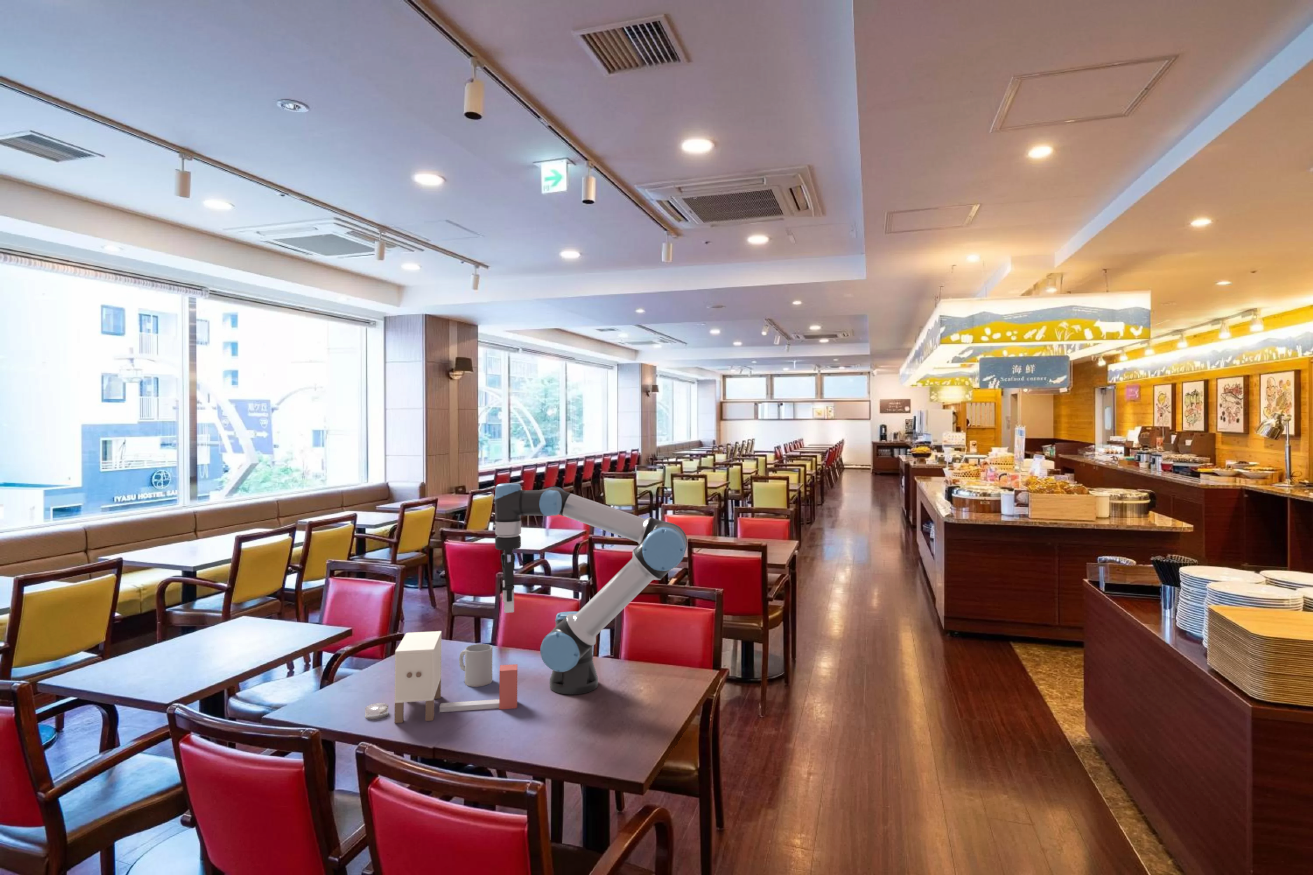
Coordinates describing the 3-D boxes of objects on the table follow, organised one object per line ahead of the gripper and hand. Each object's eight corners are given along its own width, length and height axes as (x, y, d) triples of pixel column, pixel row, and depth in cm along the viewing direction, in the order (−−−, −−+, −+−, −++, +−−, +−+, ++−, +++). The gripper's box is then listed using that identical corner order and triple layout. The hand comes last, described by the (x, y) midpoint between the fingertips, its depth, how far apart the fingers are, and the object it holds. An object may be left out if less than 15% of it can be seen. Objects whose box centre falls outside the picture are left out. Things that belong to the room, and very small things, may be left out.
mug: (497, 679, 214) (498, 645, 214) (480, 688, 206) (480, 653, 207) (468, 674, 219) (469, 640, 219) (450, 682, 212) (450, 647, 212)
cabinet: (440, 695, 200) (441, 630, 200) (432, 722, 181) (433, 650, 182) (405, 698, 198) (406, 632, 199) (393, 725, 179) (394, 652, 180)
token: (389, 710, 190) (389, 701, 190) (386, 718, 184) (386, 710, 184) (367, 712, 188) (367, 703, 188) (363, 720, 183) (363, 712, 183)
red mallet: (517, 701, 196) (517, 664, 197) (517, 708, 192) (517, 669, 192) (441, 706, 192) (441, 668, 192) (439, 713, 187) (439, 674, 187)
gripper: (494, 530, 209) (494, 598, 209) (495, 541, 185) (496, 618, 185) (518, 529, 211) (518, 596, 211) (523, 540, 187) (523, 616, 187)
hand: (508, 606), depth 198 cm, fingers open, 13 cm apart
